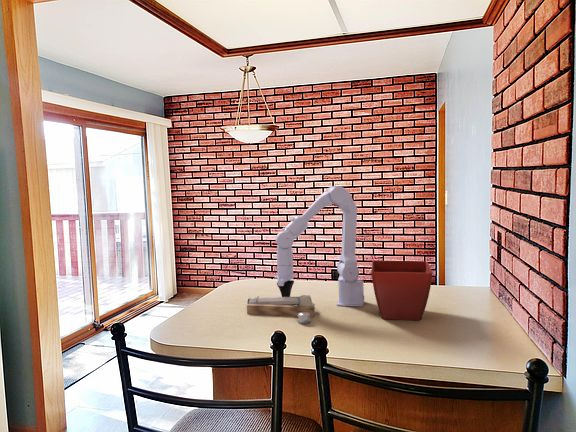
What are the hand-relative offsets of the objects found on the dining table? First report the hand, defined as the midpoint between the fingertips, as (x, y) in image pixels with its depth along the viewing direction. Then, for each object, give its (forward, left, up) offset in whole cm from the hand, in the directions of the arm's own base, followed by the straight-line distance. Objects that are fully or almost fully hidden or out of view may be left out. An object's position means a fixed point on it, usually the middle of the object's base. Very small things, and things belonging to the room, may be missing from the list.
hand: (286, 300), depth 168 cm
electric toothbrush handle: (+1, +3, -3) cm, 5 cm away
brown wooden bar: (0, +9, -2) cm, 9 cm away
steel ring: (-10, +16, -2) cm, 19 cm away
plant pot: (-41, +3, -3) cm, 41 cm away
